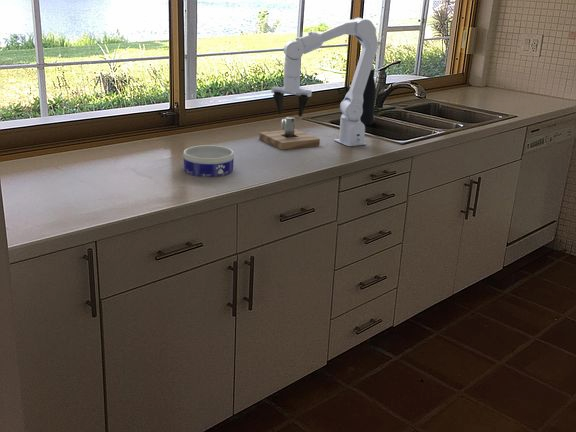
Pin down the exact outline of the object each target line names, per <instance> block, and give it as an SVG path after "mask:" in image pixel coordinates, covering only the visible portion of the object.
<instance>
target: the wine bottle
mask: <svg viewBox="0 0 576 432" xmlns="http://www.w3.org/2000/svg"><path fill="white" fill-rule="evenodd" d="M376 56H377V54H376V55H375V59H374V60H376V58H377V57H376ZM376 86H377V85H376V81H375V65H374V62H373V65H372V68H371V71H370V74H369V77H368V80H367V84H366V87H365V90H364V93H363V105H362V108H363V113H362V115H361V117H360V120H361V122H362V123H363V124H364V126H371V125H373V124H374V123H373V122H374V112H375V103H376V102H375V101H376V91H377V87H376Z"/></svg>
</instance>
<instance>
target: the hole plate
mask: <svg viewBox="0 0 576 432" xmlns="http://www.w3.org/2000/svg"><path fill="white" fill-rule="evenodd" d="M284 135H285V130H281V129H280V130H272V131H262V132H261V131H260V132H259V135H258V136H259V137H258V139H259V140H260V141H263V142H264V143H266V144H268V145H271V146H272V147H275V148H276V149H279V150H280V151H282V150H292V149H300V148H309V147H318V146H320V141H321V139H320V138H318V137H317V136H314V135H312V134H310V133H307V132H305V131H302V130H300V129H297V128H295V133H294V137H291V138H286V137H284Z"/></svg>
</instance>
